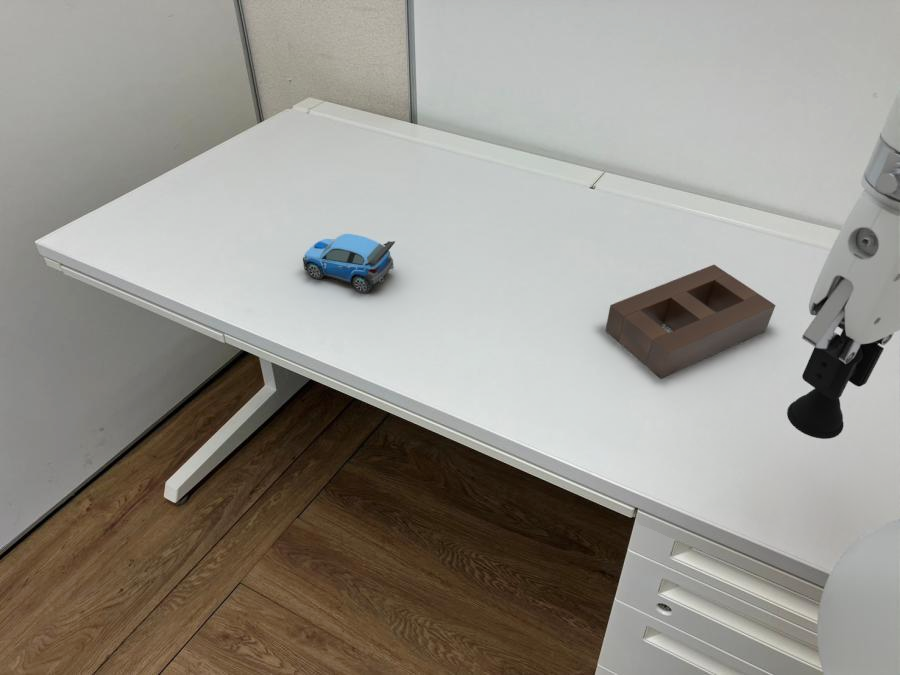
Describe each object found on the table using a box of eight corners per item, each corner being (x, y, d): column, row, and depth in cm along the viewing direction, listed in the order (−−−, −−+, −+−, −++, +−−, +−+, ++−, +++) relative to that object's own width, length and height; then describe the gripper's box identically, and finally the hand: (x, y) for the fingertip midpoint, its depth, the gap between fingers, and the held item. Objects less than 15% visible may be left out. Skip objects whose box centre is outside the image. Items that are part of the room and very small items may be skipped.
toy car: (322, 253, 98) (317, 218, 94) (399, 274, 94) (397, 238, 91) (299, 275, 94) (293, 239, 90) (378, 298, 90) (375, 261, 87)
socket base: (765, 330, 86) (775, 305, 83) (661, 379, 79) (668, 352, 77) (706, 289, 92) (714, 264, 90) (605, 330, 86) (610, 304, 83)
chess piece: (824, 400, 62) (868, 309, 55) (852, 437, 58) (902, 344, 52) (777, 404, 61) (815, 313, 55) (802, 441, 58) (846, 348, 52)
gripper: (912, 229, 40) (805, 449, 51) (1060, 169, 46) (935, 376, 58) (801, 177, 45) (727, 388, 56) (948, 129, 51) (854, 327, 63)
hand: (833, 380), depth 57 cm, fingers closed on chess piece, 2 cm apart
